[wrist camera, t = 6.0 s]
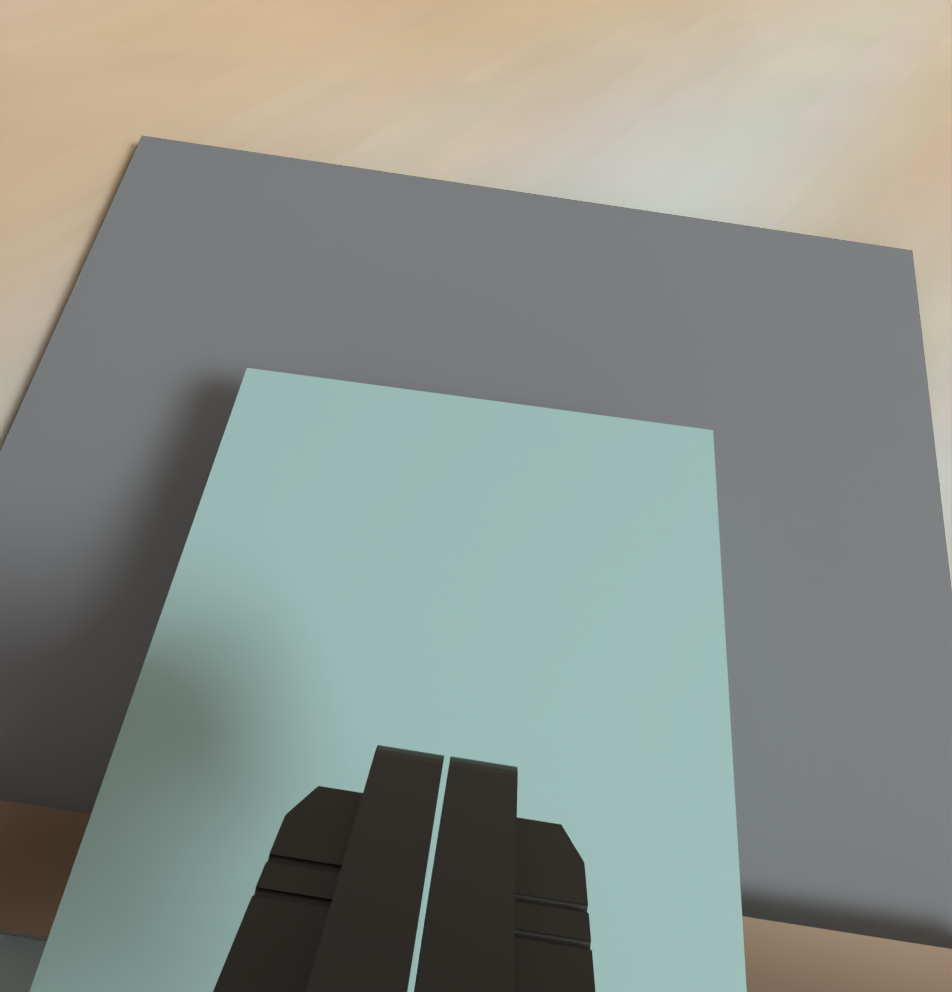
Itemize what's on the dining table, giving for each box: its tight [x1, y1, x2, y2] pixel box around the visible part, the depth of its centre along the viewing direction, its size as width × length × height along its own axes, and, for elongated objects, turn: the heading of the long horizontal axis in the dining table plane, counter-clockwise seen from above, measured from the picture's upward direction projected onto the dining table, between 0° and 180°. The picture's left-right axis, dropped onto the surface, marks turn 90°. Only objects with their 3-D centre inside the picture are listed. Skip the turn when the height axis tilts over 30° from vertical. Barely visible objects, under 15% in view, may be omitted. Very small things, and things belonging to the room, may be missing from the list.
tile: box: [29, 368, 747, 992], centre depth 16 cm, size 2×10×14 cm
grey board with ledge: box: [0, 136, 952, 992], centre depth 20 cm, size 20×22×2 cm
